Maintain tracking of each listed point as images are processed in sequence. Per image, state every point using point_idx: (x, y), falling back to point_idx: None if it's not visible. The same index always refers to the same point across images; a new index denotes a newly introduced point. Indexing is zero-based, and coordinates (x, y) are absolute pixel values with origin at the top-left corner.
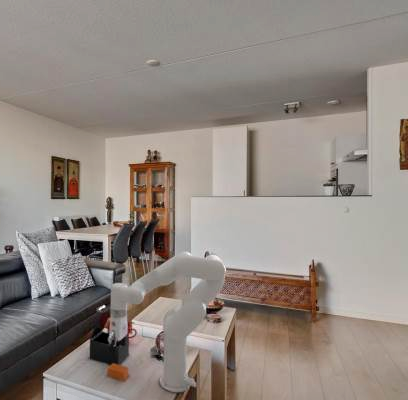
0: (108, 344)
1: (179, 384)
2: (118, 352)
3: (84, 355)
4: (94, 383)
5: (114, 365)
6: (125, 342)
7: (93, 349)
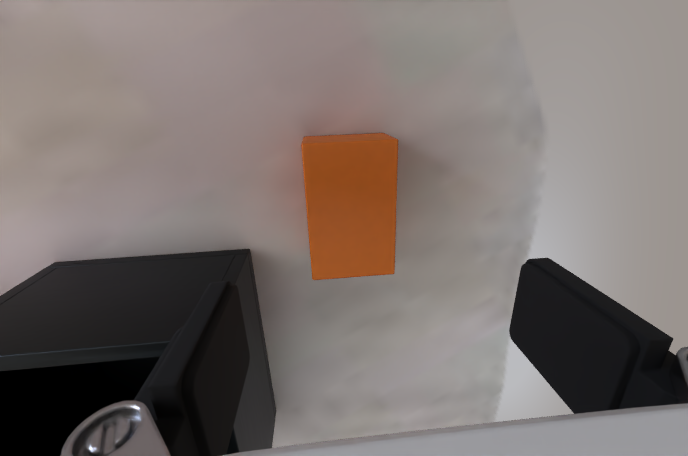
0: None
1: None
2: None
3: None
4: (481, 269)
5: (336, 253)
6: (197, 310)
7: None
